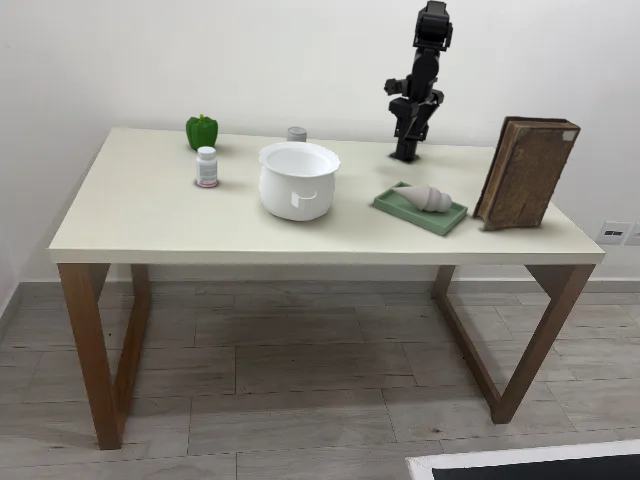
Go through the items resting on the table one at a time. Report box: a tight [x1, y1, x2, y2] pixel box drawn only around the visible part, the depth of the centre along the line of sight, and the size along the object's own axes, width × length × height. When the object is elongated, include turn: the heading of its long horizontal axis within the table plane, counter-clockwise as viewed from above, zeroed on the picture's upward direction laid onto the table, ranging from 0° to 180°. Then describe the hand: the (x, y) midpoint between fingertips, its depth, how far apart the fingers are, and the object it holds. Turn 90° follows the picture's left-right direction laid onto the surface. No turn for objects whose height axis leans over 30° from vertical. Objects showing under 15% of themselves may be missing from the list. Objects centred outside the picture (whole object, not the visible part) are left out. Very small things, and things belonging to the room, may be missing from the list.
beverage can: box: [285, 126, 308, 143], centre depth 123 cm, size 5×5×12 cm
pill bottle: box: [195, 147, 218, 188], centre depth 115 cm, size 5×5×8 cm
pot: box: [258, 141, 342, 222], centre depth 109 cm, size 22×17×12 cm
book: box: [471, 115, 582, 231], centre depth 110 cm, size 17×7×25 cm, turn 99°
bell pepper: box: [185, 113, 219, 152], centre depth 131 cm, size 8×8×10 cm
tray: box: [372, 181, 469, 236], centre depth 117 cm, size 13×18×2 cm
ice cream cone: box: [389, 184, 453, 212], centre depth 115 cm, size 6×6×15 cm
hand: (410, 134), depth 126 cm, fingers open, 9 cm apart
